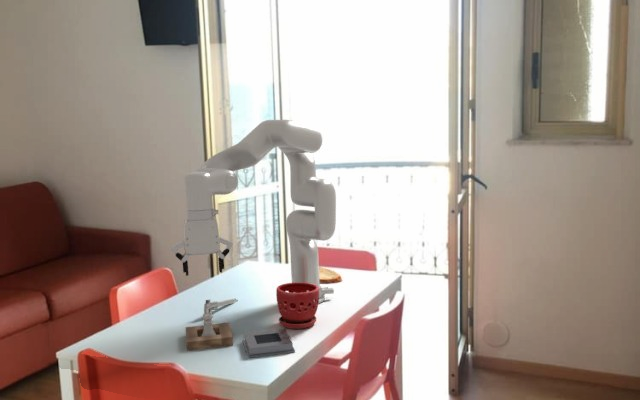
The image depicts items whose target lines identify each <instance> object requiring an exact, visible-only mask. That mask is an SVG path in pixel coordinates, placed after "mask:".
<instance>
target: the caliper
mask: <svg viewBox="0 0 640 400" xmlns="http://www.w3.org/2000/svg"><path fill="white" fill-rule="evenodd" d="M238 301H239V300H238V299H237V298H230V299H229V298H228V299H225V300H221V301H218V300H216V301H215V300H214V301H211V299H205V302H204V307H203V314H204V313H205V315H206V313H208V314H209V313H211V314H212V315H213V311H216V310H218V309H219V307H224V306H227V305H233V304H235V303H236V302H238Z"/></svg>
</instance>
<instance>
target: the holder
mask: <svg viewBox="0 0 640 400" xmlns="http://www.w3.org/2000/svg"><path fill="white" fill-rule="evenodd" d="M243 334H244V339H243V340H242V342H243V346H244V350H245V352H246V356H247V359H252V358H258V357H267V356H275V355H283V354H290V353H291V354H293V353H296V350H295V348H294V346H293V341H292V340H291V338H290V336H289V334H288V332H287V329H285V328H284V329H274V330H273V329H272V330H265V331H257V332H248V333H243Z"/></svg>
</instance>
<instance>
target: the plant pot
mask: <svg viewBox="0 0 640 400" xmlns="http://www.w3.org/2000/svg"><path fill="white" fill-rule="evenodd" d="M307 290H308V291H309V292H307ZM275 291H276V302H277V309H278V312H279V314H280V317H279V318H278V322H279V324H280V325H281V326H283V327H285V328H286V329H292V330H293V329H295V330H296V329H299V330H300V329H306V328H308V327H311V326H313V325H315V324H316V321H317V317H316V314H317V312H318V311H317V310H318V308H319V304H318V302H319V287H318V286H316V285H314V284H310V283H292V282H289V283H287V282H286V283H283V284H281V285H280V284H279V285H278V286H277V287H276V290H275ZM293 292H295V293H293ZM301 292H303V293H301ZM314 299H315V302H314Z"/></svg>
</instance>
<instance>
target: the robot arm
mask: <svg viewBox="0 0 640 400" xmlns="http://www.w3.org/2000/svg"><path fill="white" fill-rule="evenodd" d="M322 135H323V134H322V133H321V131H320V130H319V129H318V128H317V127H315V126H312V125H308V124H305V123H302V122H298V121H294V120H289V119H267V120H264V121H261V122H260V123H258V125H256V127H254V129H252V130H251V131H250V132H249V133H248V134H247V135H246V136H244V137H243V138H242V139H241V140H240V141H239V142H238V143H236V144H234V145H232V146H230V147H227V148H225V149H224V150H221V151H220V152H217V153H216V154H214V155H212V156H211V157H209V158H208V159H206V160H205V161H204V162H203V163H202V164H201V165H199V167H198V168H197V169H196V171H191V172H188V173H186V174H185V176H184V180H183V181H184V192H185V195H184V196H185V205H186V206H185V208H186V219H185V220H184V224H183V239H182V240H181V241H179V242H178V243H176V244H174V245H172V247H171V251H172V253H173V254H174V255H175V258H177V259H178V260H180V261H181V262H182V272H183V273H185V276H186V277H187V276H189V264H188V263H189V262H188V259H189V258H190V256H200V255H211V254H216V255H217V257H218V258H217V259H218V272H219V273H221V274H222V273H223V270H225V261H224V260H225V258H226V256H227V255H228V254H229V253H230V251H231V249H232V247H233V242H232V241H231V240H227V239H225V238H223V237H220V232H219V231H220V229H219V225H218V222H217V221H218V220H217V217H215V216H217V215H219V209H214V204H213V200H214V199H213V196H216V195H217V196H223V195H224V196H225V195H230V194H231V193H234V191H236V189H237V188H238V185H239V179H238V176H237V174H236V173H235V172H236V171H239V170H240V171H241V170H245V169H248V168H250V167H254V166H256V165H257V164H258V163H259V162H261V161H262V159H264V158H265V157H266V156H267V155H268V154H269V153H270V152H271V151H273V149H275V148H278V149H279V150H280V151H281V152H282V153H283V154H284V155H285V157H286V158H287V160H288V162H289V163H288V164H289V168H290V177H289V178H290V198H291V202H292V203H293V204H294V205H297V206H302V207H310V208H314V210H309V209H296V210H295V209H294V210H292V211H291V212H290V213H289V214H288V215H287V217H286V219H285V228H286V232H287V236H288V242H289V251H290V271H291V274H290V275H291V283H310V284H314V285H316V286H318V287H319V302H318V305H319V304H321V303H323V302H324V301H325V295H331V294H332V295H333V294H334V292H335V290H334V288H333V287H329V286H327V287H326V286H324V287H322V286H321V285H320V284H321V283H320V282H319V267H320V265H319V263H320V262H319V248H318V245H317V242H316V241H328V240H330V239H331V238H332V237H333V236H334V234H335V231H336V221H337V220H336V215H337V214H336V213H337V210H336V209H337V208H336V207H337V194H336V189H335V187H334V184H332V182H331V181H329V180H328V179H324V178H317V175H316V174H317V173H316V170H317V169H316V161H315V158H314V155H313V153H317V152H318V151H319V150H320V149H321V147H322V145H323V136H322ZM221 244H223V245H226V247H225V248H224V250H223V251H222V250H221ZM182 247H183V248H184V253H183V254H181V253H180V252H179V250H180V248H182ZM307 292H309V291H308V290H307ZM293 293H295V292H293ZM301 293H303V292H301ZM314 302H315V299H314Z"/></svg>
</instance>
